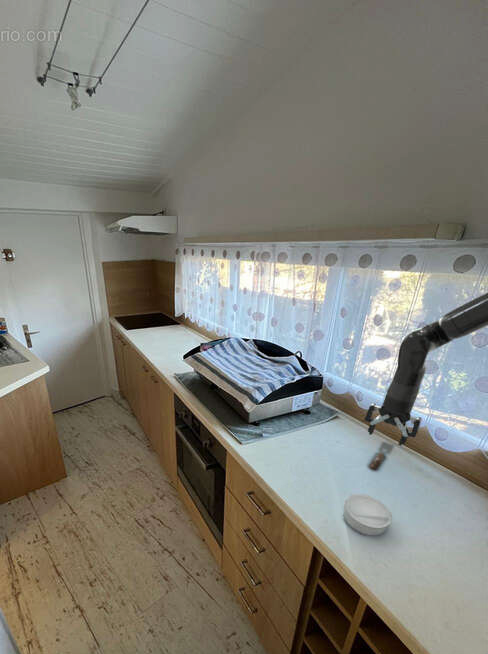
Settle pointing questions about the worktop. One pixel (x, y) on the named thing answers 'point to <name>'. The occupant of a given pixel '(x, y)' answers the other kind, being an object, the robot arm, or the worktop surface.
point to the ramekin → (366, 514)
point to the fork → (377, 461)
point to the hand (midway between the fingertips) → (385, 438)
